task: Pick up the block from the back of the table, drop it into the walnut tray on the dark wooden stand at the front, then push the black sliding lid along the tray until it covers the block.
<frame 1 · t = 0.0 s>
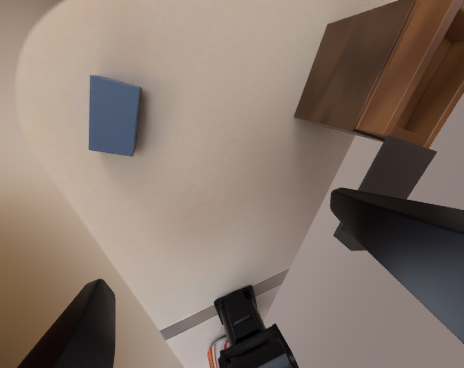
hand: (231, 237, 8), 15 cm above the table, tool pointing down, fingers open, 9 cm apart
beverage can: (222, 342, 38), on the table
stand: (330, 82, 22), on the table
block: (117, 116, 17), on the table
lid: (393, 199, 15), point 11 cm above the table, slide at 8.2 cm
tray: (406, 83, 16), resting on stand
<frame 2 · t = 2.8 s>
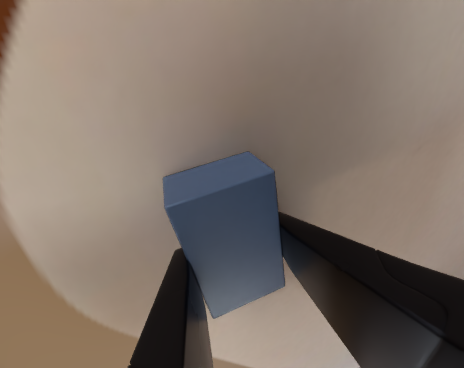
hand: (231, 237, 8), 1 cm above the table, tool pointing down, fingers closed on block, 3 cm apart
block: (223, 222, 9), on the table, touching gripper
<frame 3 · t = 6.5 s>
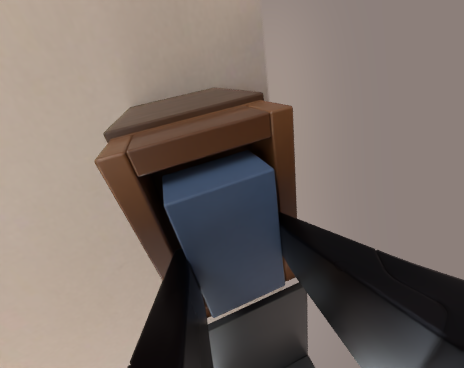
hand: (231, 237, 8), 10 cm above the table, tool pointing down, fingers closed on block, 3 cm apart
stand: (191, 154, 16), on the table
block: (222, 221, 9), point 9 cm above the table, touching gripper
lid: (267, 364, 11), point 11 cm above the table, slide at 8.2 cm
tray: (215, 206, 10), resting on stand
when the fingers open (11 cm above the table, at t = 8.7 s): block drops 1 cm, resting on tray.
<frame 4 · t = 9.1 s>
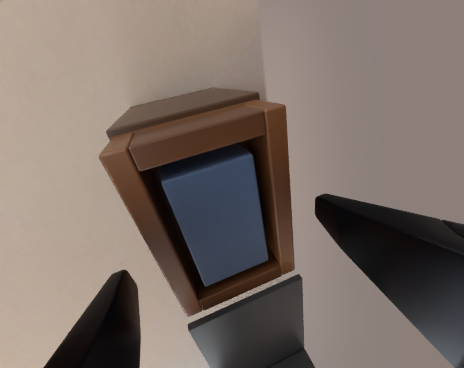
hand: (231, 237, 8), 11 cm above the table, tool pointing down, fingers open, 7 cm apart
stand: (190, 153, 17), on the table
block: (214, 204, 10), point 8 cm above the table, touching tray
lid: (264, 356, 11), point 12 cm above the table, slide at 8.2 cm
tray: (213, 202, 10), resting on stand
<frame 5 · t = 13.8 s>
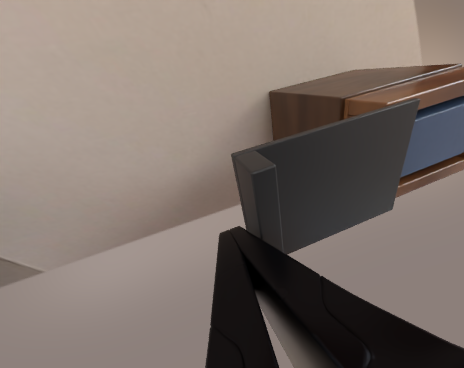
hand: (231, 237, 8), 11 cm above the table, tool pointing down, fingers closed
stand: (312, 114, 20), on the table
block: (400, 132, 13), point 8 cm above the table, touching tray
lid: (342, 195, 9), point 11 cm above the table, slide at 7.3 cm, touching gripper
tray: (395, 132, 13), resting on stand
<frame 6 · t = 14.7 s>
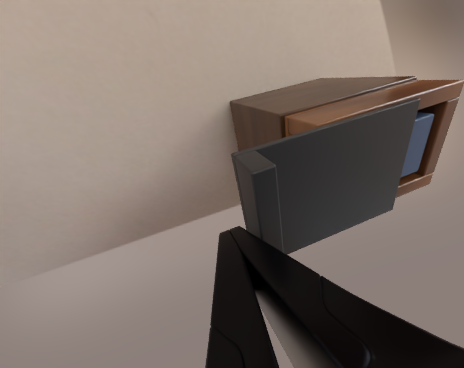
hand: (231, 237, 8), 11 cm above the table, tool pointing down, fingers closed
stand: (279, 124, 19), on the table
block: (352, 148, 12), point 8 cm above the table, touching tray
lid: (343, 195, 9), point 11 cm above the table, slide at 3.7 cm, touching gripper
tray: (348, 148, 12), resting on stand
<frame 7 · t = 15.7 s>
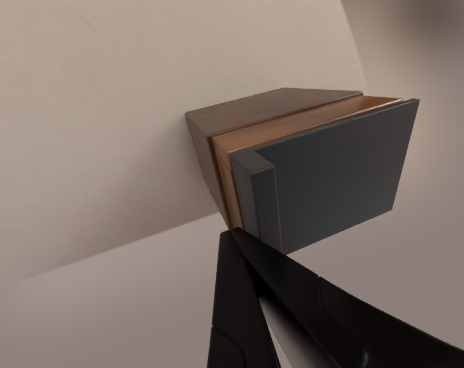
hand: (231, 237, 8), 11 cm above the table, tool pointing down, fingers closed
stand: (242, 135, 18), on the table
lid: (342, 196, 9), point 11 cm above the table, slide at 0.0 cm, touching gripper
tray: (293, 166, 12), resting on stand
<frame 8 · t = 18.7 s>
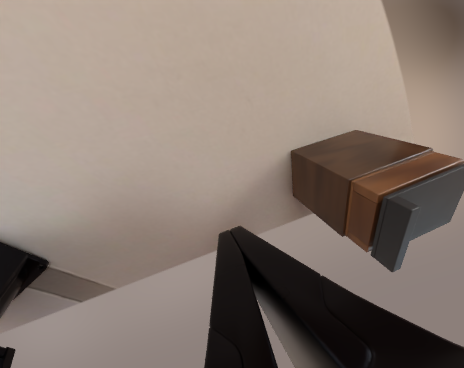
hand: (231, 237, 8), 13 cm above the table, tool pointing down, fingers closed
stand: (323, 163, 25), on the table
lid: (432, 216, 15), point 12 cm above the table, slide at -0.1 cm
tray: (386, 194, 18), resting on stand
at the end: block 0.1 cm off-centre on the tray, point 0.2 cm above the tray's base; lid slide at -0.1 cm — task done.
